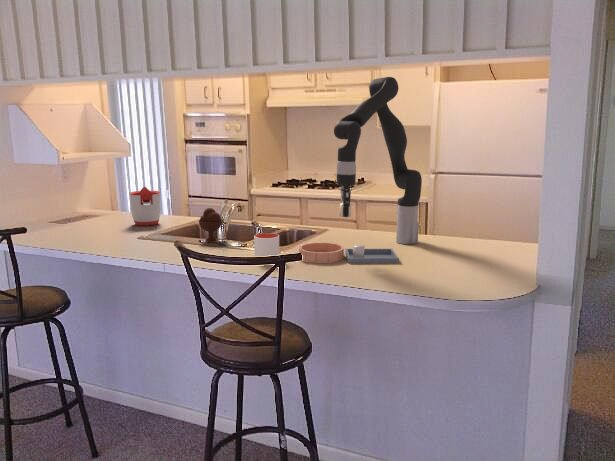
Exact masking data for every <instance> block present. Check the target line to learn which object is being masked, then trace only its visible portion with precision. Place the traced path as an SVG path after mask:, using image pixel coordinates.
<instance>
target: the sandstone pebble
mask: <svg viewBox="0 0 615 461" xmlns="http://www.w3.org/2000/svg"><path fill="white" fill-rule="evenodd" d="M338 212H339V214H338V216H339V217H340V218H344V217H343V203H341V202H340V203H339V211H338ZM350 217H352V203H350V207H349V216H348V217H347V218H350Z"/></svg>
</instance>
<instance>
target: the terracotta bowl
mask: <svg viewBox="0 0 615 461" xmlns="http://www.w3.org/2000/svg"><path fill="white" fill-rule="evenodd" d="M299 253H301V254H302V255H303V261H304V262H303V261H302V262H303V263H305V262H308V263H307V264H310V263H315V264H329V263H336V262H340V261H342V260H343V259H344V258H345V256H344V254H345V247H344V245H342V244H339V243H334V242H325V241H324V242H322V241H320V242H315V241H314V242H308V243H304V244H302V245H299V246H298V254H299Z"/></svg>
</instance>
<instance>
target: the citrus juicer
mask: <svg viewBox="0 0 615 461" xmlns="http://www.w3.org/2000/svg"><path fill="white" fill-rule="evenodd" d="M129 199H130V212H131V217H132V220H133V222H134V224H135V225H136V226H139V227H143V226H156V225H157V224H158V223H159V221H160V217H161V192H160V191H159V190H150V189H148V187H146V186H143V187H142V188H141V189H140V190H136V191H131V192H129Z"/></svg>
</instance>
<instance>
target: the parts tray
mask: <svg viewBox="0 0 615 461" xmlns="http://www.w3.org/2000/svg"><path fill="white" fill-rule="evenodd" d="M344 254H345V257H346V261H347V264H399V257H398V255H397V253H395V251H394V249H393V248H364V258H353V248H344Z"/></svg>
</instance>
